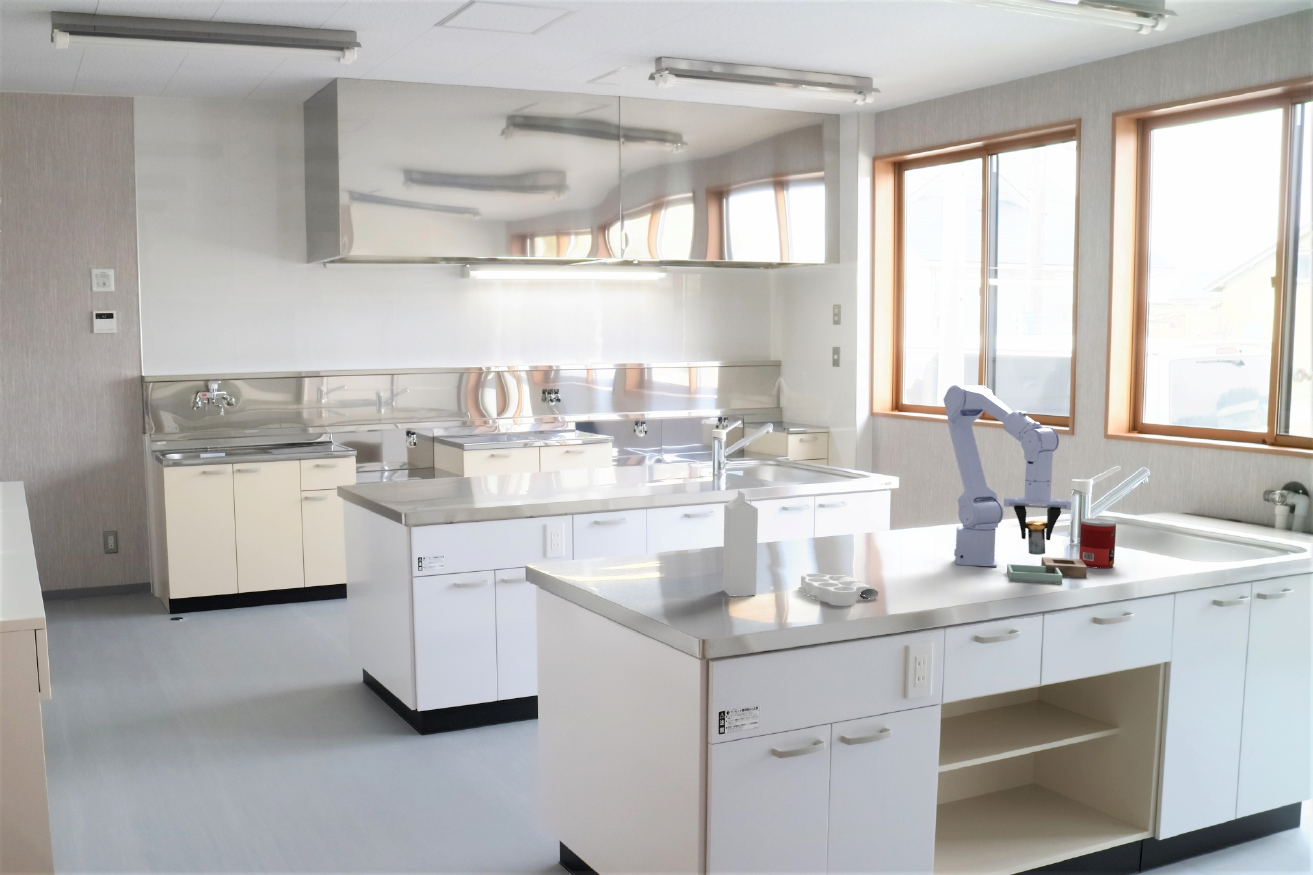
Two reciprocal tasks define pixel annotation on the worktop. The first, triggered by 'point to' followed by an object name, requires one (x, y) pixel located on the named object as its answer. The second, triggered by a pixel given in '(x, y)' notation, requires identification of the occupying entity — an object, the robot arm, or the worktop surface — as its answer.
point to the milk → (740, 547)
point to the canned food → (1097, 542)
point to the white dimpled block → (836, 589)
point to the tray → (1034, 573)
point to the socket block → (1066, 566)
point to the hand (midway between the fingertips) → (1035, 538)
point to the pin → (1036, 536)
